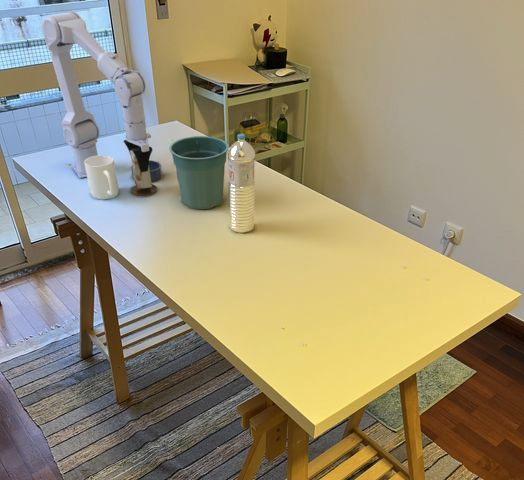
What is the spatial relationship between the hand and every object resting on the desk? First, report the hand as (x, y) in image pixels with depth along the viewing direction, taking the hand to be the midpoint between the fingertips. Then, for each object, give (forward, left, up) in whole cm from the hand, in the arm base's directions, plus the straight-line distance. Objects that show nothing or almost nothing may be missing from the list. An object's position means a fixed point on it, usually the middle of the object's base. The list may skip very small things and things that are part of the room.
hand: (140, 167), depth 160 cm
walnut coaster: (0, 0, -7) cm, 7 cm away
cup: (-1, -11, -7) cm, 13 cm away
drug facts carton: (0, 0, -6) cm, 6 cm away
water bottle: (+35, +16, -7) cm, 39 cm away
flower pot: (+15, +13, -7) cm, 21 cm away
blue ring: (-9, +5, -7) cm, 13 cm away
